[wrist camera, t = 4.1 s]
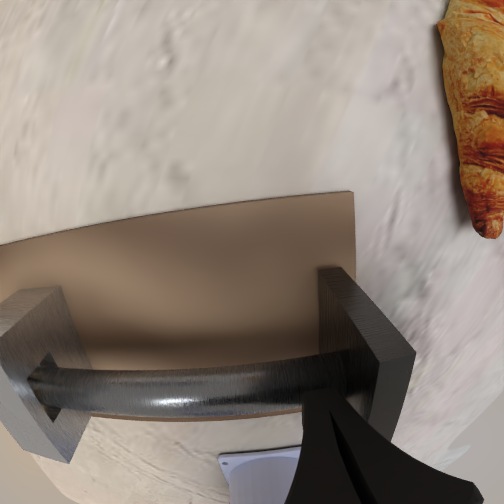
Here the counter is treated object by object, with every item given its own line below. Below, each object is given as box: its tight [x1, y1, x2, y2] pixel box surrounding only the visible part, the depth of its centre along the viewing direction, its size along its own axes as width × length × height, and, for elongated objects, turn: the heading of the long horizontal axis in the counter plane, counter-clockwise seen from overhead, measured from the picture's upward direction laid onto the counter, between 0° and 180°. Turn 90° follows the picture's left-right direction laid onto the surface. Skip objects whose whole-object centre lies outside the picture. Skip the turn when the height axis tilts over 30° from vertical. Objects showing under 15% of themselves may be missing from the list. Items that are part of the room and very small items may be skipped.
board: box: [0, 191, 356, 422], centre depth 16 cm, size 14×27×1 cm, turn 97°
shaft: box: [26, 267, 416, 442], centre depth 12 cm, size 7×17×7 cm, turn 97°
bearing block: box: [0, 285, 93, 464], centre depth 12 cm, size 8×4×7 cm, turn 7°
